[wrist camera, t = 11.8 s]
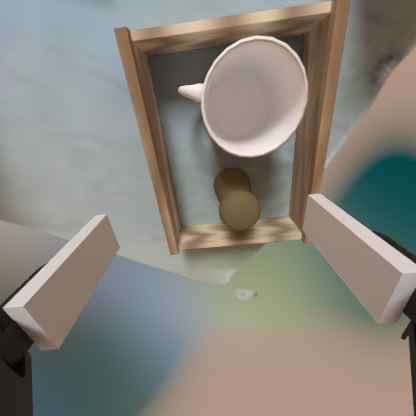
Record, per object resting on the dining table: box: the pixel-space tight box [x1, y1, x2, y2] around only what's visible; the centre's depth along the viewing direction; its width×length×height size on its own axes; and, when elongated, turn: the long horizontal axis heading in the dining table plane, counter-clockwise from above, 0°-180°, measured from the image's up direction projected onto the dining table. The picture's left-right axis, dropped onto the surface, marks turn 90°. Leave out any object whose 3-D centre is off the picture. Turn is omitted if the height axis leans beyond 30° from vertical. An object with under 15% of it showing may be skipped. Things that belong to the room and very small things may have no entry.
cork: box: [214, 168, 261, 230], centre depth 28 cm, size 6×6×11 cm
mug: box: [178, 35, 308, 158], centre depth 22 cm, size 9×12×12 cm
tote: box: [114, 0, 351, 255], centre depth 27 cm, size 22×28×7 cm
